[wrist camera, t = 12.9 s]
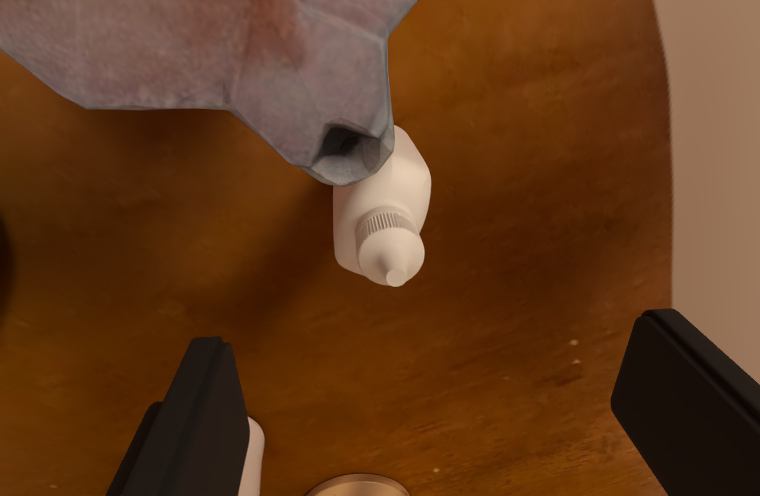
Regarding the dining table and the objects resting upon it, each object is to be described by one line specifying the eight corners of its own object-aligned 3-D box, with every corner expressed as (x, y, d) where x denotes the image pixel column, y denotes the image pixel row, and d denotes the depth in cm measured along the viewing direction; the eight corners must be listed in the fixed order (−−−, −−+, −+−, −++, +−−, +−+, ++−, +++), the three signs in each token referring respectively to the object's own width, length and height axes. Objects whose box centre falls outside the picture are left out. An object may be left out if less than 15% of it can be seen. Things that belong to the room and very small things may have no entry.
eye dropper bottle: (304, 166, 25) (285, 279, 14) (387, 104, 24) (432, 176, 13) (352, 223, 27) (366, 360, 16) (430, 168, 26) (501, 276, 15)
